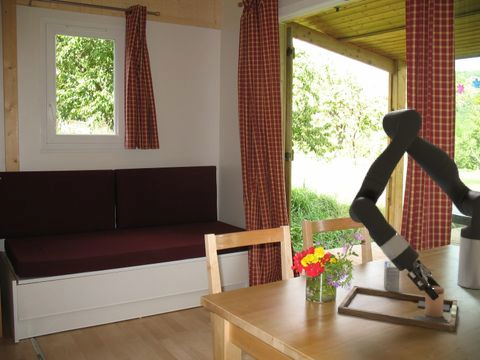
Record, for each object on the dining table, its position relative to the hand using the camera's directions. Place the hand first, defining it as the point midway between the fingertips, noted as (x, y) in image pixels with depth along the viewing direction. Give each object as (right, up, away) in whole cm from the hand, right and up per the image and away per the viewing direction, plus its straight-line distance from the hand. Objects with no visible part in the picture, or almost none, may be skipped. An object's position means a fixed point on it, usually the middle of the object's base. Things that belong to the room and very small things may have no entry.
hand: (437, 294), depth 151 cm
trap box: (-10, -6, +5) cm, 12 cm away
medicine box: (-7, -4, +24) cm, 25 cm away
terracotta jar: (-1, -6, +1) cm, 6 cm away
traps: (-1, -6, +1) cm, 6 cm away
